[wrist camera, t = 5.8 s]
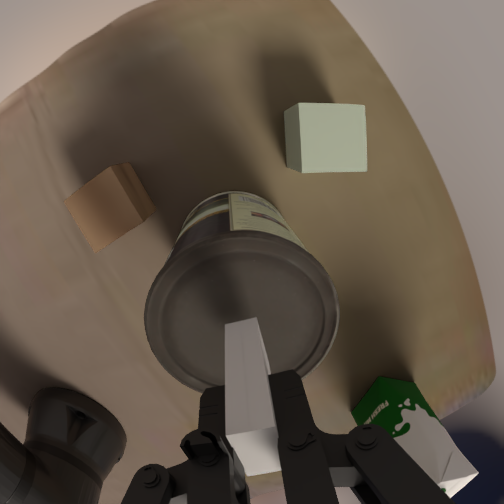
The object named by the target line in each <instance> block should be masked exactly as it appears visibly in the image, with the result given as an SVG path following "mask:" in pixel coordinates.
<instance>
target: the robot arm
mask: <svg viewBox="0 0 504 504" xmlns="http://www.w3.org/2000/svg"><path fill="white" fill-rule="evenodd" d="M28 416H29V418H28V423H27V430H26V438H25V442H24V444H22V443H21V442H20V441H19V440H17V439H16V438H15V437H14V436H13V435H12V434H11V433H10V432H9V431H8V430H7V429H6V428H5V427H4V425H3V424H2V423H1V422H0V504H98V501H99V497H100V492H101V488H102V484H103V481H104V480H105V478H106V477H107V476H108V474H109V473H110V471H111V470H112V468H113V466H114V465H115V464H116V463H117V462H119V460H120V459H121V458H122V456H123V454H124V450H125V446H126V442H127V438H126V434H125V431H124V429H123V428H122V426H121V424H120V423H119V422H118V421H117V419H116V418H115V417H114V416H113V415H112V414H111V413H109V412H108V411H107V410H106V409H105V408H103V407H102V406H100V405H99V404H97V403H96V402H94V401H93V400H91V399H89V398H87V397H85V396H83V395H81V394H78V393H76V392H73V391H70V390H66V389H62V388H45V389H42V390H40V391H39V392H38V393H37V394H36V395H35V397H34V399H33V400H32V402H31V404H30V407H29V414H28ZM180 447H181V449H182V450H183V451H184V453H185V454H186V456H187V457H188V460H187V461H185V462H183V463H181V464H179V465H176V466H173V467H170V468H167V469H166V468H165V467H164V466H161V465H159V464H149V465H146V466H143V467H142V468H140V469H139V470H138V471H137V472H136V474H135V475H134V477H133V479H132V481H131V483H130V486H129V488H128V490H127V492H126V494H125V496H124V498H123V500H122V502H121V504H250V494H249V488H248V485H247V483H246V481H245V473H246V474H247V476H253V475H259V474H265V473H270V472H275V471H280V470H281V471H282V477H283V483H284V489H285V495H286V501H287V504H339V502H338V498H337V495H336V491H335V488H334V487H350V488H351V490H352V491H353V493H354V494H355V495H356V497H357V498H358V500H359V501H360V502H361V504H456V503H455V502H454V501H453V500H452V499H451V498H450V497H449V496H448V495H447V494H446V493H445V492H444V491H443V490H442V489H441V488H440V487H439V486H438V485H437V484H436V483H435V482H434V481H433V480H432V479H431V478H430V477H429V476H428V474H427V473H426V472H425V471H424V470H423V469H422V468H421V467H420V466H419V465H418V464H417V463H416V462H415V461H414V460H413V459H412V458H411V457H410V456H409V454H408V453H407V452H406V451H405V450H404V449H403V448H402V447H401V446H400V445H399V444H398V443H397V442H396V441H395V440H394V439H393V437H392V436H391V435H390V434H389V433H388V432H387V431H386V430H385V429H384V428H382V427H381V426H379V425H375V424H363V425H360V426H357V427H355V428H354V429H353V430H351V431H350V432H349V434H339V435H336V434H328V433H325V432H323V431H321V430H319V429H318V428H317V427H316V425H315V423H314V420H313V417H312V414H311V410H310V407H309V404H308V400H307V397H306V394H305V390H304V387H303V384H302V380H301V377H300V375H299V374H297V373H296V372H295V371H294V370H293V369H291V370H287V371H283V372H279V373H274V374H271V371H270V366H269V361H268V357H267V354H266V350H265V346H264V343H263V339H262V335H261V332H260V328H259V324H258V321H257V317H255V318H251V319H247V320H242V321H238V322H234V323H229V324H225V385H222V386H216V387H211V388H206V389H205V391H204V392H203V394H202V396H201V398H200V410H199V422H198V429H197V430H194V431H192V432H190V433H189V434H187V435H186V436H185V437H184V438H183V439H182V441H181V444H180Z"/></svg>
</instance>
